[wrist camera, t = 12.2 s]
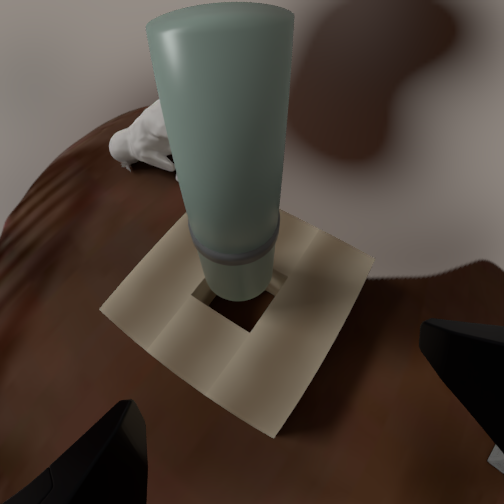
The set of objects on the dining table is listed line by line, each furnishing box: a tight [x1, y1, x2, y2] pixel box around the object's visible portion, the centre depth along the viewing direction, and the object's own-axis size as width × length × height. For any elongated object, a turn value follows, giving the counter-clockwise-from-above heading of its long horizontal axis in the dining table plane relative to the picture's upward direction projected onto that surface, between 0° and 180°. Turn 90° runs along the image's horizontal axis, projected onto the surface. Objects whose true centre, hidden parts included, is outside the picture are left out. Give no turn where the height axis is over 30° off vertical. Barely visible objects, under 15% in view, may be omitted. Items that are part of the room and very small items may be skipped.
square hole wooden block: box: [99, 209, 375, 438], centre depth 22 cm, size 14×14×4 cm
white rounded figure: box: [109, 99, 178, 181], centre depth 29 cm, size 6×8×12 cm
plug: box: [146, 2, 294, 301], centre depth 12 cm, size 4×4×14 cm
